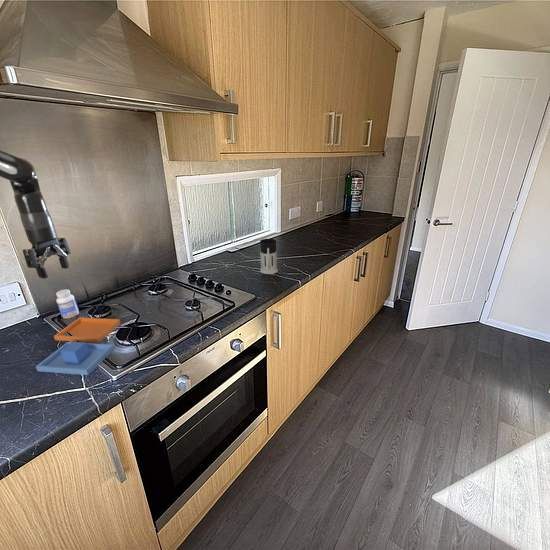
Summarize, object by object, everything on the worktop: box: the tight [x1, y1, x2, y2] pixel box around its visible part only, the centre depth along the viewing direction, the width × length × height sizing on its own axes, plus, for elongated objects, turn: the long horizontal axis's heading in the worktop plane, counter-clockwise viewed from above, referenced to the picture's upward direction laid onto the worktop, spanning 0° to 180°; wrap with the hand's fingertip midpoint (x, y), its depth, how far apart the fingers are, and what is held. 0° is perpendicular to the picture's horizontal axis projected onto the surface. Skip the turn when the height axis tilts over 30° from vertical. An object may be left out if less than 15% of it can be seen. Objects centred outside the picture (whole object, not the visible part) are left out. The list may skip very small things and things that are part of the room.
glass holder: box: [259, 238, 279, 275], centre depth 137 cm, size 9×14×15 cm, turn 1°
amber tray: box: [53, 317, 121, 344], centre depth 97 cm, size 15×11×2 cm
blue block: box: [60, 341, 90, 365], centre depth 83 cm, size 4×4×4 cm
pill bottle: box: [55, 288, 80, 319], centre depth 106 cm, size 5×5×10 cm
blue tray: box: [35, 341, 115, 376], centre depth 83 cm, size 15×11×2 cm
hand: (55, 272), depth 99 cm, fingers open, 8 cm apart
